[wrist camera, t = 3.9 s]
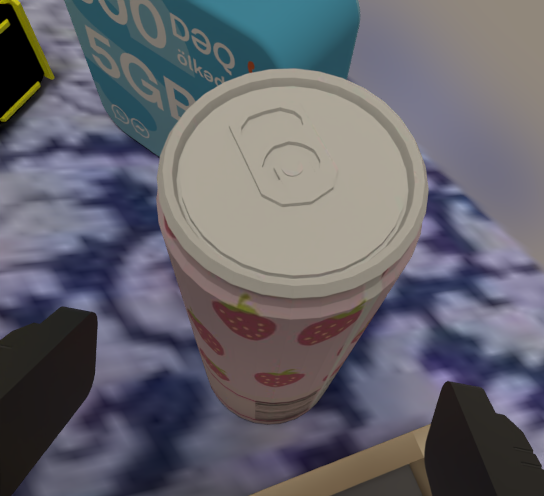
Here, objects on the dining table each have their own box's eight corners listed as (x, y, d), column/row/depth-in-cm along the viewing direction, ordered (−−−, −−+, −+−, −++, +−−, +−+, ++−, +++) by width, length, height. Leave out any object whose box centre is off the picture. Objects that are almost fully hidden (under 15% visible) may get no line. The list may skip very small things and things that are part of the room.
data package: (107, 122, 29) (24, -101, 18) (162, 76, 31) (115, -153, 20) (274, 239, 26) (291, 56, 15) (325, 182, 28) (372, -20, 17)
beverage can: (264, 278, 25) (281, 20, 12) (356, 356, 24) (497, 160, 10) (179, 363, 23) (82, 169, 10) (273, 454, 22) (313, 373, 8)
